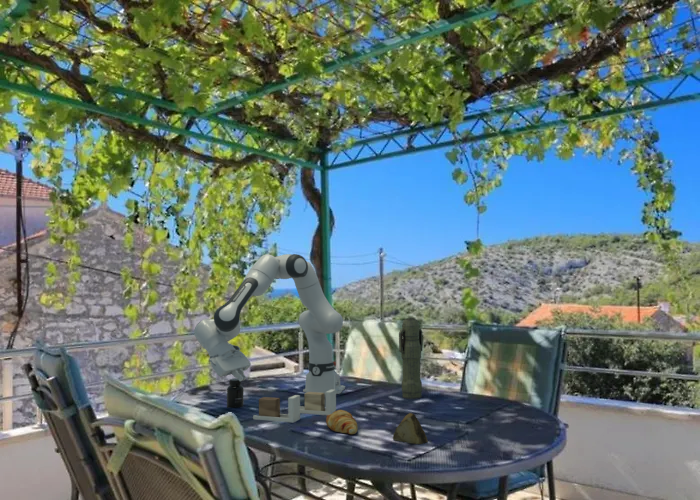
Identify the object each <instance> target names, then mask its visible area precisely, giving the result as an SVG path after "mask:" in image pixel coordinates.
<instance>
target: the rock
mask: <svg viewBox="0 0 700 500" xmlns="http://www.w3.org/2000/svg"><path fill="white" fill-rule="evenodd" d="M420 422H421V421H419V419H418V417H417V416H416V415H415V413H412V412H409V413H408V414H406V415H405V416H404V417H403V419H402V420H401V421H400V423H399V424H398V425H397V427H396V428H395V431H394V433H393V436H392V440H393V441H396V442H402V443H407V444H416V445H422V444H423V443H424V444H427V443H429V441H428V437H427V435H426V432H425V430H424V429H423V426H422V424H421V423H420ZM426 442H427V443H426Z"/></svg>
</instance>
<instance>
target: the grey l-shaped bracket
mask: <svg viewBox="0 0 700 500" xmlns="http://www.w3.org/2000/svg"><path fill="white" fill-rule="evenodd" d="M287 405H288V406H287V408H288V409H287V411H288V413H285V414H284V413H280V417H269V416H259V415H255V414H253V417H252V419H253V420H255V421H256V420H258V421H271V422H283V423H296V422H297V421H299V420H301V413H300V406H301V395H299V394H295V395H292V396H289V397H288V398H287Z"/></svg>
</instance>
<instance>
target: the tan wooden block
mask: <svg viewBox="0 0 700 500" xmlns="http://www.w3.org/2000/svg"><path fill="white" fill-rule="evenodd" d="M304 407H305V410H315V411H325V408H326V397H325V393H319V392H307V393H306V392H304Z"/></svg>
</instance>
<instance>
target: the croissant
mask: <svg viewBox="0 0 700 500" xmlns="http://www.w3.org/2000/svg"><path fill="white" fill-rule="evenodd" d="M325 416H326V417H325V419H326V420H325V423H326V426H327V427H328V428H329V429H330V430H331V431H333V432H337V433H342V434H348V435H355V434H356V433H357V432H358V422H357V421H356V418H354V416H353V415H352V413H351V412H348V411H347V410H343V409H338V410H336V411H335V412H333V413H332V414H330V415H325Z"/></svg>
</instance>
